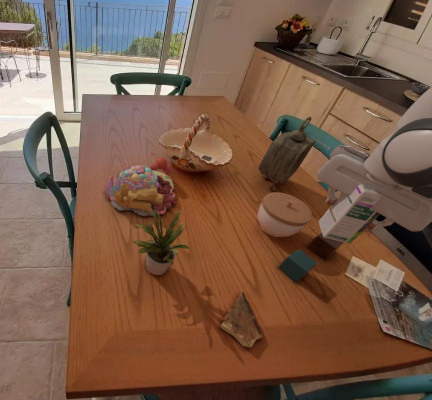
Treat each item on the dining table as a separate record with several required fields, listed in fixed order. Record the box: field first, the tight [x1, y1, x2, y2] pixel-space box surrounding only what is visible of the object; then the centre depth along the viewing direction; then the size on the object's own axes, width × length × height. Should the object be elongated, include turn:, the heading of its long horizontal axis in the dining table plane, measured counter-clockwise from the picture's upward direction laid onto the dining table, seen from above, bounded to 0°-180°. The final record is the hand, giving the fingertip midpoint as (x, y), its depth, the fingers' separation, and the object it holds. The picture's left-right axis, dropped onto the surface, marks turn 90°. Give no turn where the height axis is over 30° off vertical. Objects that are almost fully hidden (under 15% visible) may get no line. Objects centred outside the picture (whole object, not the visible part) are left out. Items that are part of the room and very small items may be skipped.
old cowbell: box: [258, 116, 316, 192], centre depth 91 cm, size 14×9×25 cm, turn 131°
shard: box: [220, 291, 264, 348], centre depth 59 cm, size 11×8×2 cm
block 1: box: [278, 248, 318, 283], centre depth 69 cm, size 5×5×5 cm
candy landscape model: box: [105, 157, 178, 217], centre depth 87 cm, size 25×24×9 cm
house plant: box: [131, 207, 191, 276], centre depth 64 cm, size 14×14×16 cm
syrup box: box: [318, 184, 381, 245], centre depth 60 cm, size 6×6×14 cm
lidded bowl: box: [257, 191, 313, 238], centre depth 78 cm, size 13×13×11 cm
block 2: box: [307, 232, 344, 260], centre depth 74 cm, size 5×5×5 cm
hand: (349, 215), depth 61 cm, fingers closed on syrup box, 8 cm apart
